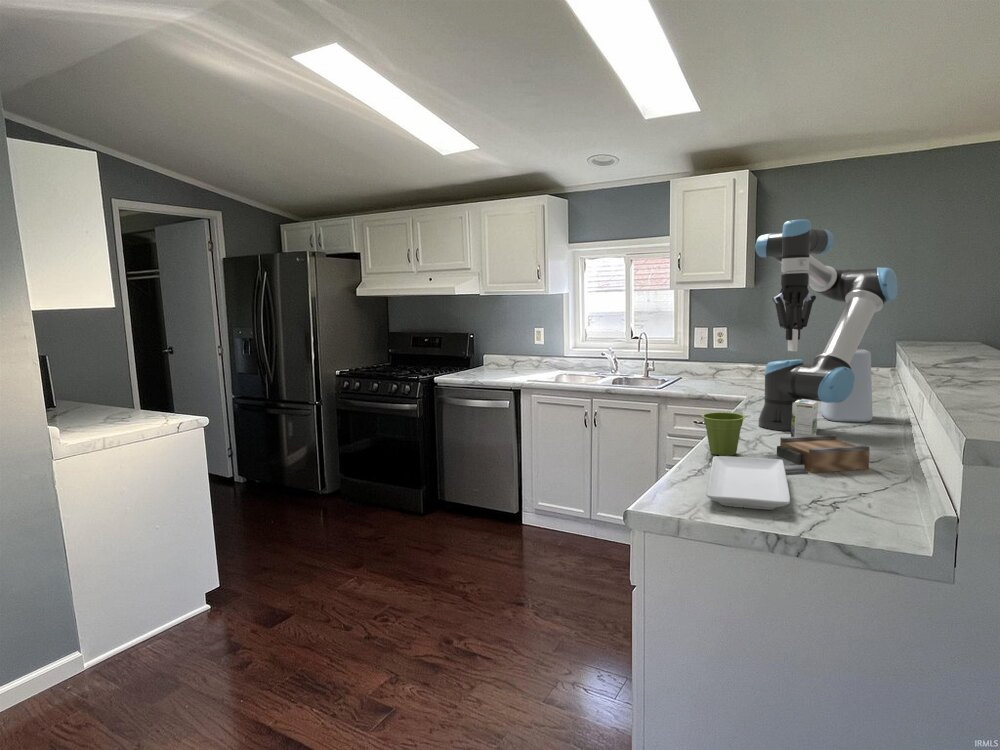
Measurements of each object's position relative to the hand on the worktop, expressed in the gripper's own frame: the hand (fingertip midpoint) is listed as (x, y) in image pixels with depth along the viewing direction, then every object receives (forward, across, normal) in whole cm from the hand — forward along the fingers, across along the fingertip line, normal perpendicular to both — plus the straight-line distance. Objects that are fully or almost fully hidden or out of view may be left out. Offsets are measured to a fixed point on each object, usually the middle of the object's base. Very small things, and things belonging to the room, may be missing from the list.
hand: (792, 350), depth 183 cm
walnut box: (+28, -6, -24) cm, 38 cm away
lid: (+28, -22, -25) cm, 43 cm away
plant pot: (+29, -26, -9) cm, 40 cm away
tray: (+28, -37, -41) cm, 62 cm away
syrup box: (+29, -2, -10) cm, 30 cm away
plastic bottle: (+29, +39, +27) cm, 55 cm away
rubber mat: (+28, -23, -24) cm, 44 cm away
